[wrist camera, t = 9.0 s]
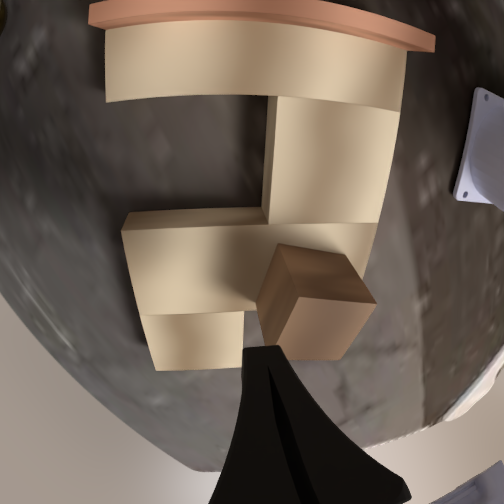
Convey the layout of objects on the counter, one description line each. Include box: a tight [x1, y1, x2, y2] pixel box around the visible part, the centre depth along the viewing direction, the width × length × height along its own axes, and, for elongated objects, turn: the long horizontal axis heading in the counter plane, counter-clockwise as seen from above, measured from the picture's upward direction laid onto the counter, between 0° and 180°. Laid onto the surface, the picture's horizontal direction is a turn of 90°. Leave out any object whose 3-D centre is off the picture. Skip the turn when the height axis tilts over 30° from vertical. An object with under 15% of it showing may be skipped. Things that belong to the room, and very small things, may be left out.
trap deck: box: [88, 0, 435, 371], centre depth 15 cm, size 13×21×4 cm, turn 177°
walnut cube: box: [255, 243, 377, 360], centre depth 15 cm, size 4×4×4 cm
